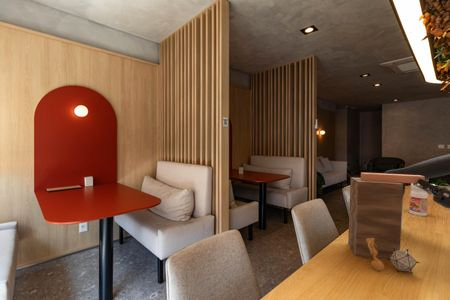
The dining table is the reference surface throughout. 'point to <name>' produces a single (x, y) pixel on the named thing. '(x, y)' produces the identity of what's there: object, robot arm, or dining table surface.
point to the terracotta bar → (391, 177)
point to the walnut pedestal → (375, 217)
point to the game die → (403, 260)
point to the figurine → (375, 263)
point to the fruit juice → (418, 201)
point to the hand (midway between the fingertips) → (412, 178)
